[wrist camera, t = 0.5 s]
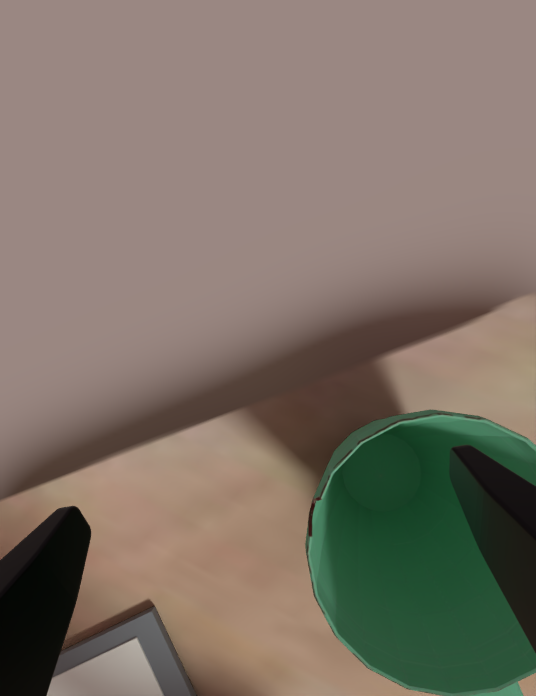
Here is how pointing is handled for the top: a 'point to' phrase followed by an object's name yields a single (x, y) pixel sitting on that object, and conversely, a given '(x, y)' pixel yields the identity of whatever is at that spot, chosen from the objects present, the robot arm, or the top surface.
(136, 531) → the top surface
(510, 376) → the top surface
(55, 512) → the robot arm
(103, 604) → the top surface
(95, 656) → the whiteboard
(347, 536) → the mug
